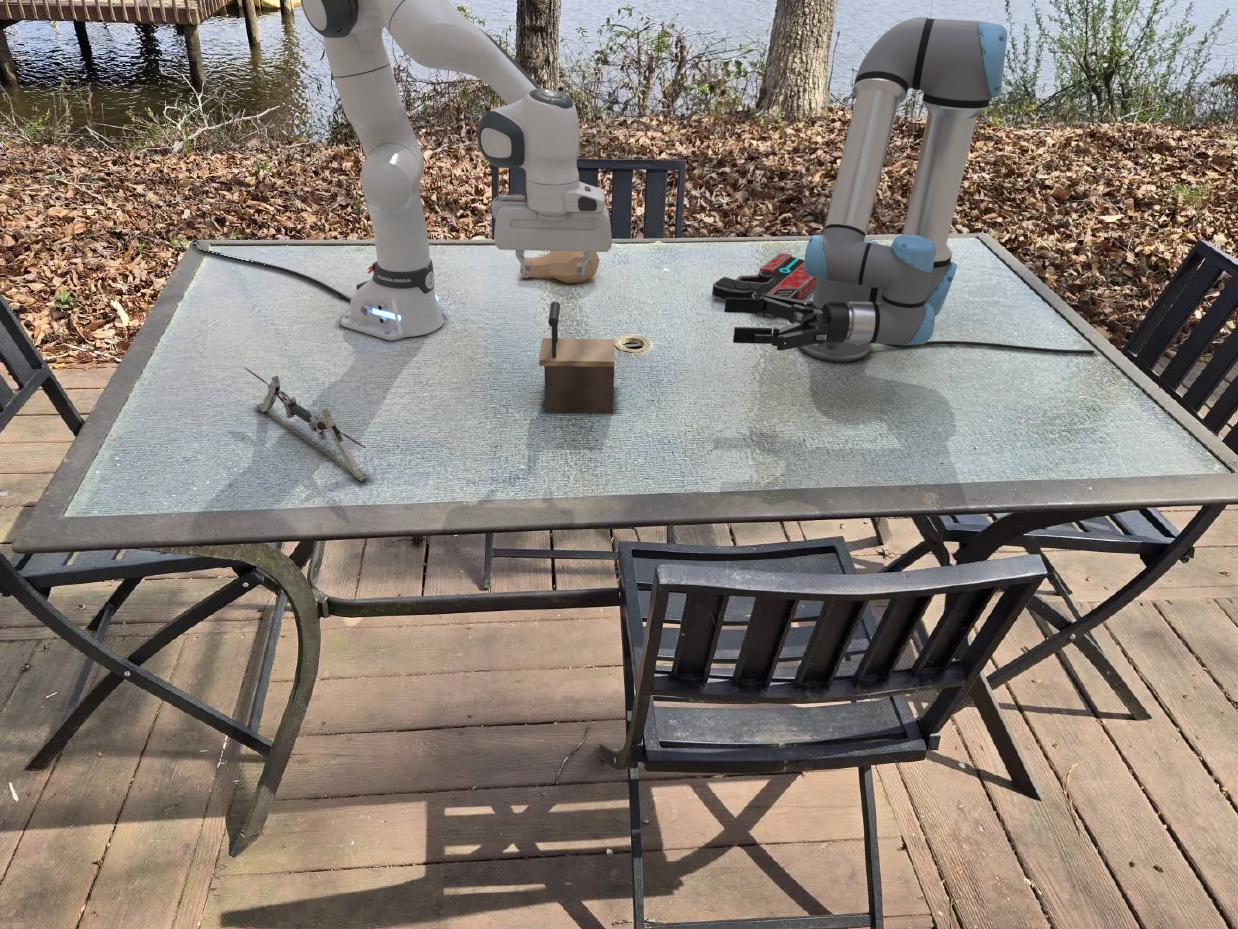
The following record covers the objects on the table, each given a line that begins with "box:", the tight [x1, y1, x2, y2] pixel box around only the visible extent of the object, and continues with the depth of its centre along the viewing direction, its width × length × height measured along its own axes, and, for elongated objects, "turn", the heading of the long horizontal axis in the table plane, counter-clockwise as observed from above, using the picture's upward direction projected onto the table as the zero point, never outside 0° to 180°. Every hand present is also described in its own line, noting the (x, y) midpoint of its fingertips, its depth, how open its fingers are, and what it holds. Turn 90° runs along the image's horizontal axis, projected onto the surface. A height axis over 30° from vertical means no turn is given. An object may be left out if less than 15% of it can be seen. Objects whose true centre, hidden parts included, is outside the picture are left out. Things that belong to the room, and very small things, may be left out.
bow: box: [244, 367, 368, 482], centre depth 151 cm, size 39×2×10 cm, turn 47°
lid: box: [538, 301, 615, 368], centre depth 161 cm, size 14×9×9 cm
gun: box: [711, 252, 816, 318], centre depth 215 cm, size 4×31×19 cm
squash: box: [519, 251, 600, 284], centre depth 218 cm, size 11×20×9 cm, turn 90°
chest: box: [543, 366, 615, 414], centre depth 166 cm, size 13×9×10 cm
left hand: (554, 273), depth 155 cm, fingers open, 8 cm apart
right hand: (729, 319), depth 159 cm, fingers open, 13 cm apart
